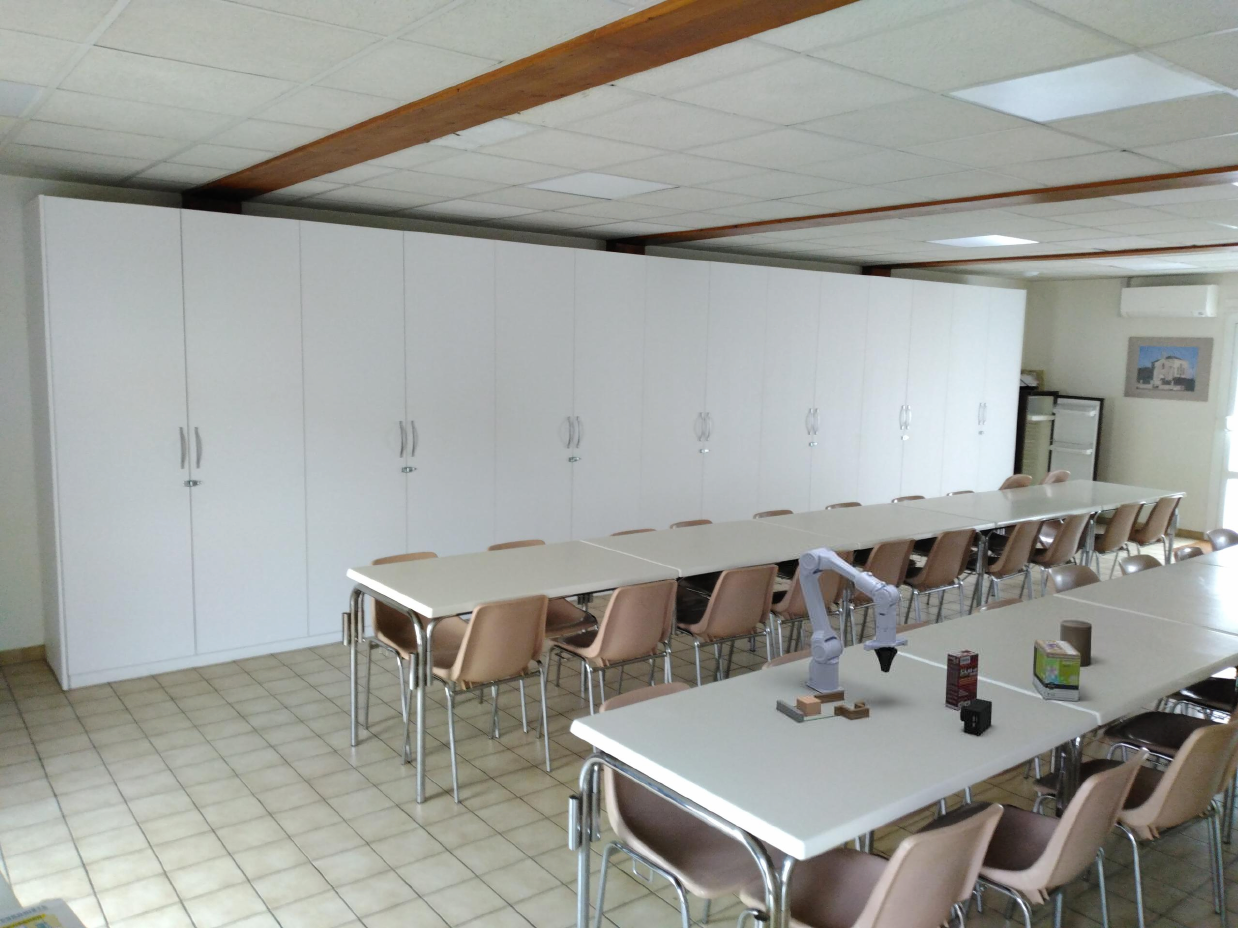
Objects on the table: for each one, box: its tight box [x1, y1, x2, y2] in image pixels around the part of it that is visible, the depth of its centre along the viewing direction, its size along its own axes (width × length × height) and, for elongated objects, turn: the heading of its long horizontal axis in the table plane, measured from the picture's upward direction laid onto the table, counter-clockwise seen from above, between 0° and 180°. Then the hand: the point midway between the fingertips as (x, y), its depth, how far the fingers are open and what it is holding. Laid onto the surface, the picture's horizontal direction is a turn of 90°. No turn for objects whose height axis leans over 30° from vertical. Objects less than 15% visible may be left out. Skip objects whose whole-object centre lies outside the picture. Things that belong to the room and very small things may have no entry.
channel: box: [813, 690, 870, 721], centre depth 265 cm, size 16×10×2 cm, turn 22°
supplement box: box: [944, 649, 979, 711], centre depth 267 cm, size 9×5×16 cm, turn 120°
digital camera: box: [959, 698, 993, 737], centre depth 250 cm, size 10×5×7 cm, turn 141°
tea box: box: [1032, 639, 1081, 702], centre depth 278 cm, size 15×10×15 cm
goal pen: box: [776, 699, 836, 723], centre depth 262 cm, size 12×12×2 cm
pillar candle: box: [1059, 619, 1093, 667], centre depth 308 cm, size 10×10×15 cm
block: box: [795, 695, 822, 717], centre depth 263 cm, size 5×5×4 cm
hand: (885, 671), depth 268 cm, fingers closed
